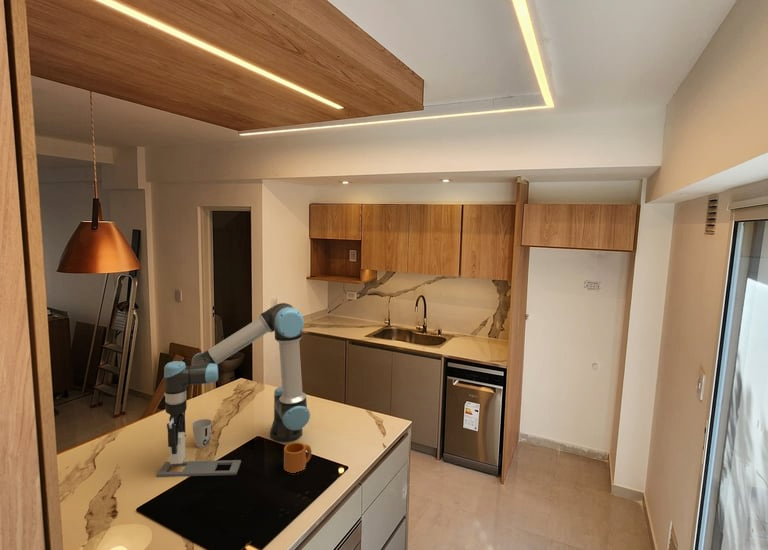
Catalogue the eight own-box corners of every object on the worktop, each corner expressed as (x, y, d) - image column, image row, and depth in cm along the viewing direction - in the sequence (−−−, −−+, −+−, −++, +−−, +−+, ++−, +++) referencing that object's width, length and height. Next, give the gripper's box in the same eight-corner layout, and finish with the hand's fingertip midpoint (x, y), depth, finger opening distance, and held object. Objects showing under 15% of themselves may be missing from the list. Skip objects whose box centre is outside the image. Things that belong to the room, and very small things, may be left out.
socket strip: (241, 462, 179) (241, 460, 179) (236, 474, 170) (236, 472, 170) (165, 464, 176) (165, 461, 175) (156, 476, 167) (156, 474, 167)
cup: (205, 450, 187) (205, 428, 186) (188, 447, 189) (188, 425, 188) (215, 441, 195) (215, 420, 194) (200, 438, 197) (199, 418, 196)
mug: (316, 469, 177) (316, 448, 175) (287, 476, 171) (287, 455, 169) (308, 458, 184) (309, 438, 183) (281, 465, 178) (281, 444, 177)
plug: (185, 457, 174) (184, 431, 173) (181, 463, 170) (180, 437, 168) (172, 458, 173) (171, 432, 172) (168, 464, 169) (167, 437, 168)
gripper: (174, 392, 177) (175, 445, 179) (156, 411, 159) (159, 469, 162) (193, 392, 177) (194, 445, 180) (177, 410, 160) (179, 468, 163)
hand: (177, 456), depth 171 cm, fingers closed on plug, 4 cm apart
